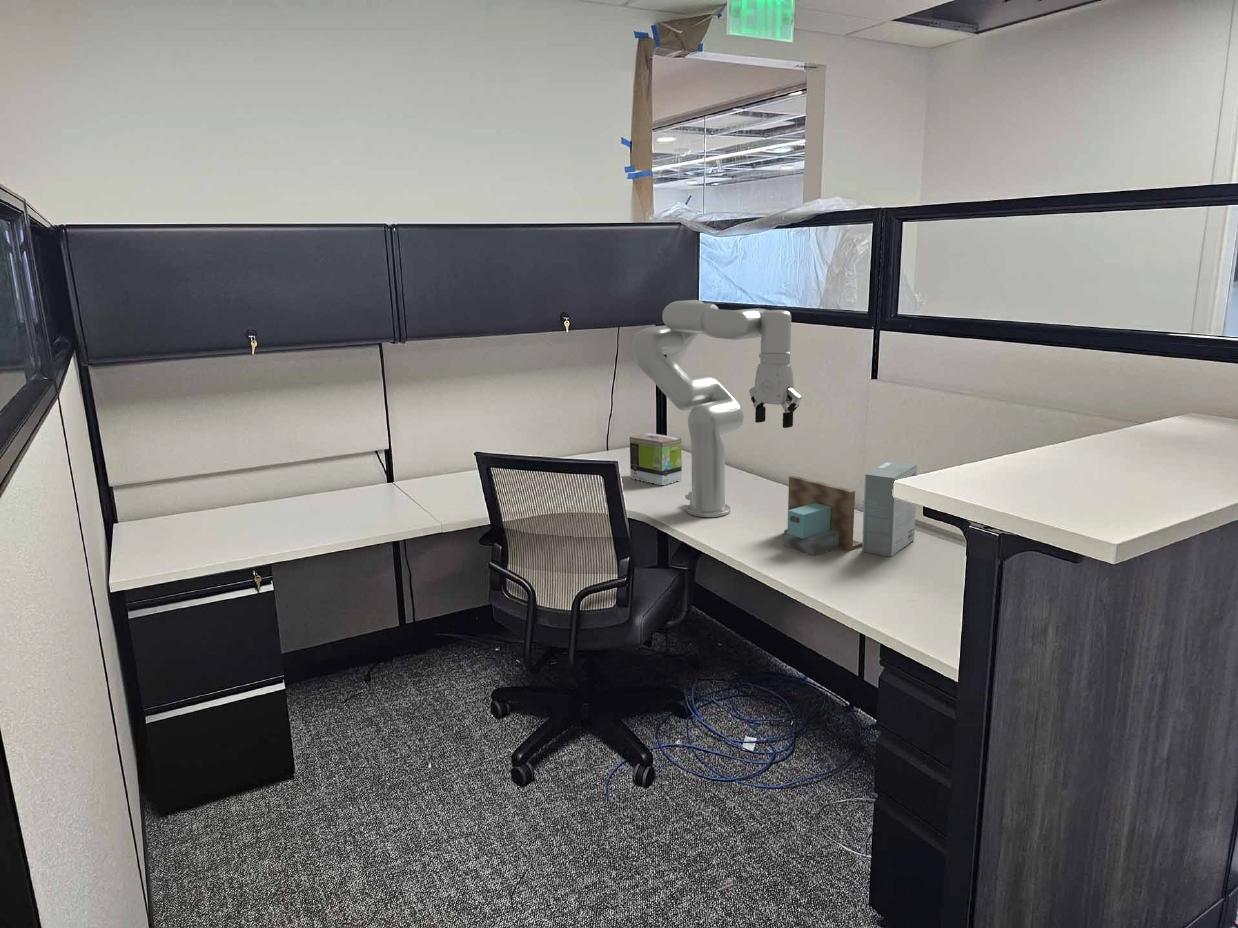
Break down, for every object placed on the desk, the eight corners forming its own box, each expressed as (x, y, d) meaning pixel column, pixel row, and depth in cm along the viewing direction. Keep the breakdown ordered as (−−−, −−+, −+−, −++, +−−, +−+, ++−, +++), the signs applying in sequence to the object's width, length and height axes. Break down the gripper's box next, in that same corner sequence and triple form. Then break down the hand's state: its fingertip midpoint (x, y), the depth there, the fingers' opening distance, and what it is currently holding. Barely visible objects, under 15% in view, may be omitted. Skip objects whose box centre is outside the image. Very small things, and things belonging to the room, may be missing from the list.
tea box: (682, 481, 271) (682, 437, 268) (661, 487, 265) (661, 442, 261) (650, 473, 282) (649, 431, 279) (629, 479, 275) (628, 436, 272)
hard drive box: (885, 535, 213) (889, 460, 208) (914, 540, 208) (919, 464, 204) (860, 551, 201) (864, 473, 197) (891, 558, 197) (895, 477, 192)
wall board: (763, 538, 213) (764, 482, 209) (801, 527, 221) (803, 473, 218) (824, 558, 197) (826, 498, 194) (862, 545, 205) (865, 488, 202)
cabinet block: (785, 533, 203) (786, 510, 202) (814, 525, 209) (815, 502, 208) (801, 538, 200) (801, 515, 198) (830, 530, 206) (830, 507, 204)
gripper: (740, 357, 215) (740, 421, 220) (790, 363, 202) (788, 431, 206) (761, 355, 220) (760, 418, 224) (811, 360, 206) (808, 427, 210)
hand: (773, 424), depth 215 cm, fingers open, 9 cm apart
